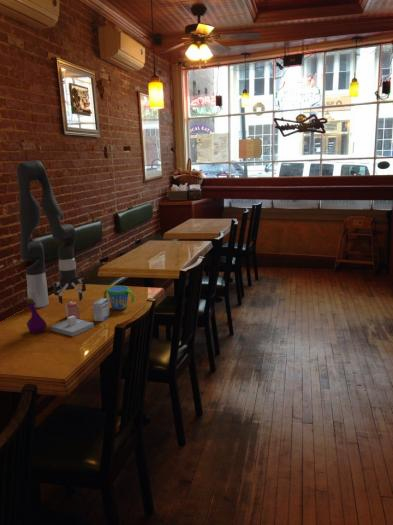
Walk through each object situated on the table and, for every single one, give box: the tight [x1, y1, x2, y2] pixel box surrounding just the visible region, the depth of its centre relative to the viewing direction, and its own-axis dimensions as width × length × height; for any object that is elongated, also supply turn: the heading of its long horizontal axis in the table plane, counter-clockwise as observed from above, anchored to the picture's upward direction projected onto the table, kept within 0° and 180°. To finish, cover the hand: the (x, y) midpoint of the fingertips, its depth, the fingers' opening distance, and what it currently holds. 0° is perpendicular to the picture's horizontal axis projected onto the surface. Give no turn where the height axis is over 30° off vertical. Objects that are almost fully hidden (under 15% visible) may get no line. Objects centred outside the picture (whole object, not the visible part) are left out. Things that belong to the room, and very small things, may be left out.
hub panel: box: [50, 316, 95, 338], centre depth 188 cm, size 14×12×6 cm
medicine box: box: [92, 297, 111, 322], centre depth 199 cm, size 8×4×9 cm, turn 168°
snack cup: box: [103, 285, 135, 311], centre depth 213 cm, size 16×10×10 cm
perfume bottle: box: [25, 291, 48, 335], centre depth 184 cm, size 8×8×18 cm
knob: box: [65, 301, 81, 320], centre depth 202 cm, size 5×6×7 cm
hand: (71, 301), depth 200 cm, fingers open, 8 cm apart
